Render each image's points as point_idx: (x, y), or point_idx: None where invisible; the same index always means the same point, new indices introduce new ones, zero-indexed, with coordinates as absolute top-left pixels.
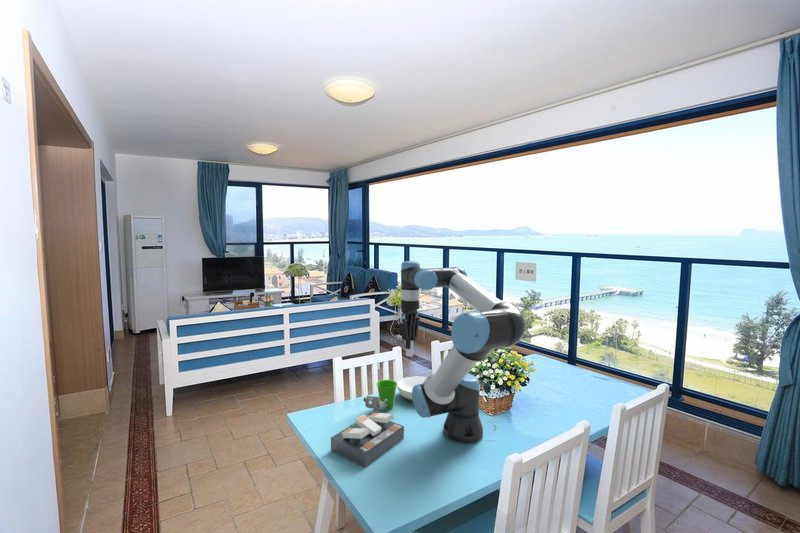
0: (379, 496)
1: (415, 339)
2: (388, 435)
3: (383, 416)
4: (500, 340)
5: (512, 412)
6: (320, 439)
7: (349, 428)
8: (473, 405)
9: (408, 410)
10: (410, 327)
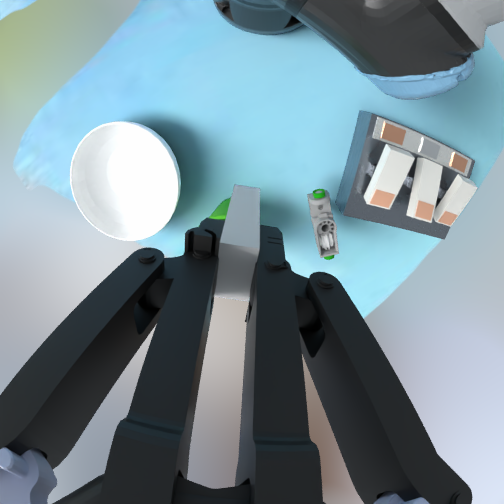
0: (496, 111)
1: (202, 232)
2: (422, 135)
3: (402, 168)
4: None
5: None
6: (404, 260)
7: (440, 220)
8: None
9: (218, 155)
10: (280, 402)
